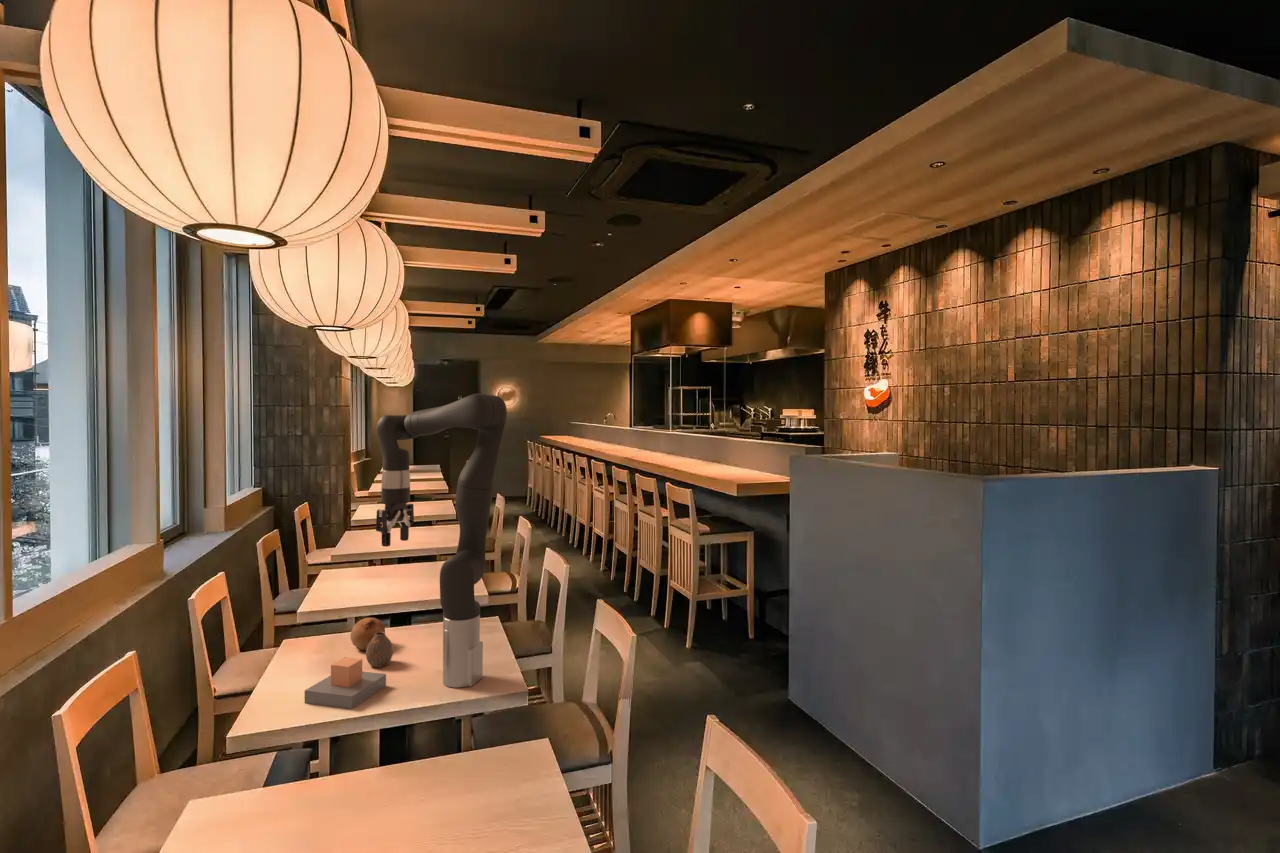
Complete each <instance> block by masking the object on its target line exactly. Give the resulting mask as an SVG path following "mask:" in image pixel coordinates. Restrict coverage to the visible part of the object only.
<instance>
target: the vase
mask: <svg viewBox="0 0 1280 853" xmlns="http://www.w3.org/2000/svg"><path fill="white" fill-rule="evenodd" d="M393 654H394V647H393V643H392V640H390V639H389V637H388V636H387V635H386V632H385V633H384V632H377V633H375V635H374V637H373V639H372V640H371V641H370V643H369V644H368V646H367V650H365V657H366V661H367V663H368V665H370V666H371V667H373V668H382V667H385V666H387V665H388V664H389V663H390V662H391V661H392V658H393Z"/></svg>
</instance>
